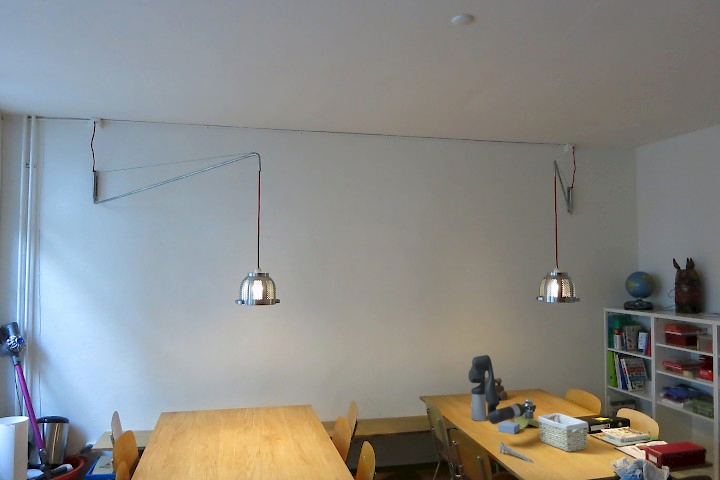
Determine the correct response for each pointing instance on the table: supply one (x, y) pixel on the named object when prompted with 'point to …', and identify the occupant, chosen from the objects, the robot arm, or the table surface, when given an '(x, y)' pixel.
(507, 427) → the stand
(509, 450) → the caliper
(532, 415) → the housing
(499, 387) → the wooden toy train
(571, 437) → the storage basket
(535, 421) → the plastic component
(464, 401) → the table surface
